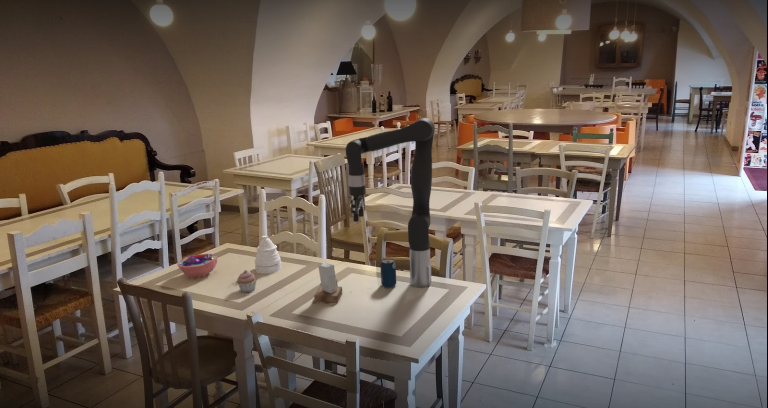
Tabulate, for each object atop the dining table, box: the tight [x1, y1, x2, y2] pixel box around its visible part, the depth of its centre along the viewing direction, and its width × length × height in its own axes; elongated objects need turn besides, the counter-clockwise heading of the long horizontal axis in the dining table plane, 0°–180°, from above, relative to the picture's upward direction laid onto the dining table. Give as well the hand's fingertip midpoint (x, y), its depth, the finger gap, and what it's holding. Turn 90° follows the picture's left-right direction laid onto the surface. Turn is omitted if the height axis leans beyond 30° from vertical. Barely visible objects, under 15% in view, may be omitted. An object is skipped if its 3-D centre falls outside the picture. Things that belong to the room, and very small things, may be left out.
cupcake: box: [236, 269, 258, 294], centre depth 254 cm, size 9×9×10 cm
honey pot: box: [254, 235, 282, 275], centre depth 279 cm, size 13×13×18 cm
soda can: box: [380, 258, 397, 289], centre depth 254 cm, size 7×7×12 cm
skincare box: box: [318, 261, 337, 293], centre depth 241 cm, size 6×4×12 cm
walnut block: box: [313, 285, 343, 304], centre depth 243 cm, size 10×10×4 cm
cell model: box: [176, 253, 218, 279], centre depth 275 cm, size 17×20×11 cm
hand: (358, 218), depth 255 cm, fingers open, 8 cm apart
